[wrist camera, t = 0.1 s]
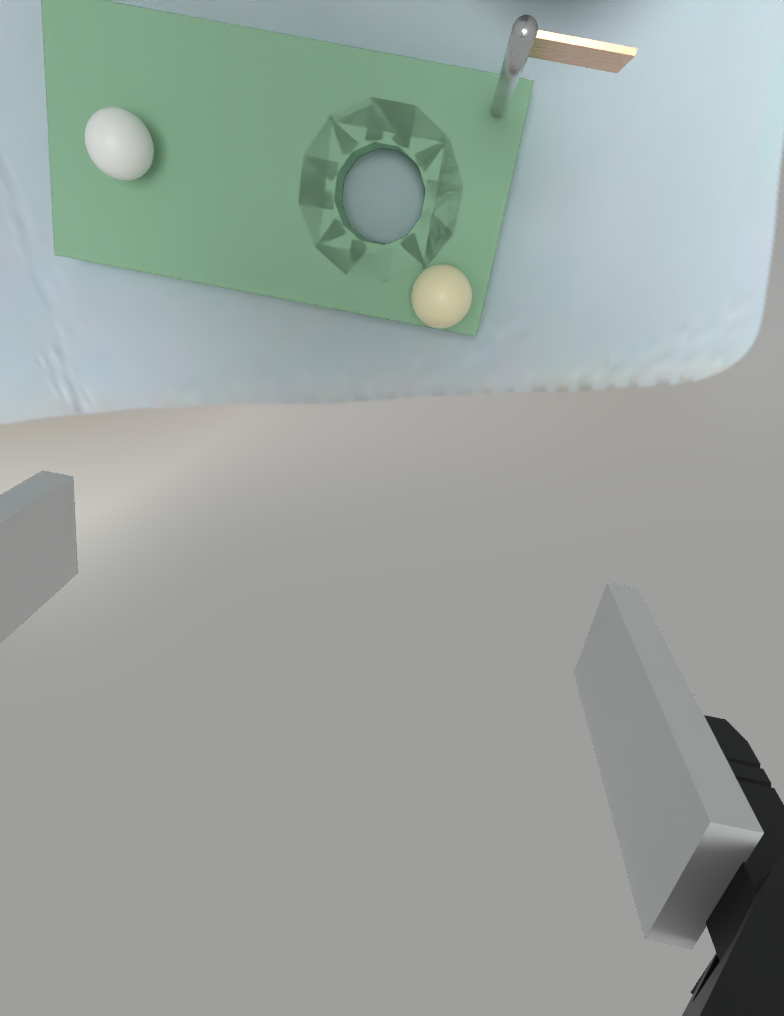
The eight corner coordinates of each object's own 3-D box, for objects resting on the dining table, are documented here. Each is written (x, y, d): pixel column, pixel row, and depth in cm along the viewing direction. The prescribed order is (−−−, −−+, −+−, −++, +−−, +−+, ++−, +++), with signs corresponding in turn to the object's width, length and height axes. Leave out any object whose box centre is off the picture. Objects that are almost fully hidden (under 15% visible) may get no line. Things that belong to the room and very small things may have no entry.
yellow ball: (419, 257, 36) (415, 260, 33) (477, 268, 36) (479, 272, 33) (408, 318, 37) (404, 325, 34) (464, 328, 37) (464, 337, 34)
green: (77, 253, 40) (54, 255, 38) (68, 4, 34) (40, -12, 32) (475, 330, 39) (476, 336, 37) (528, 90, 34) (533, 80, 32)
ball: (104, 107, 34) (69, 95, 31) (164, 119, 34) (135, 108, 31) (105, 176, 36) (72, 171, 32) (163, 187, 36) (135, 183, 32)
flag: (492, 98, 32) (515, 12, 20) (568, 113, 32) (641, 35, 19) (488, 116, 33) (509, 43, 20) (563, 130, 33) (632, 66, 20)
